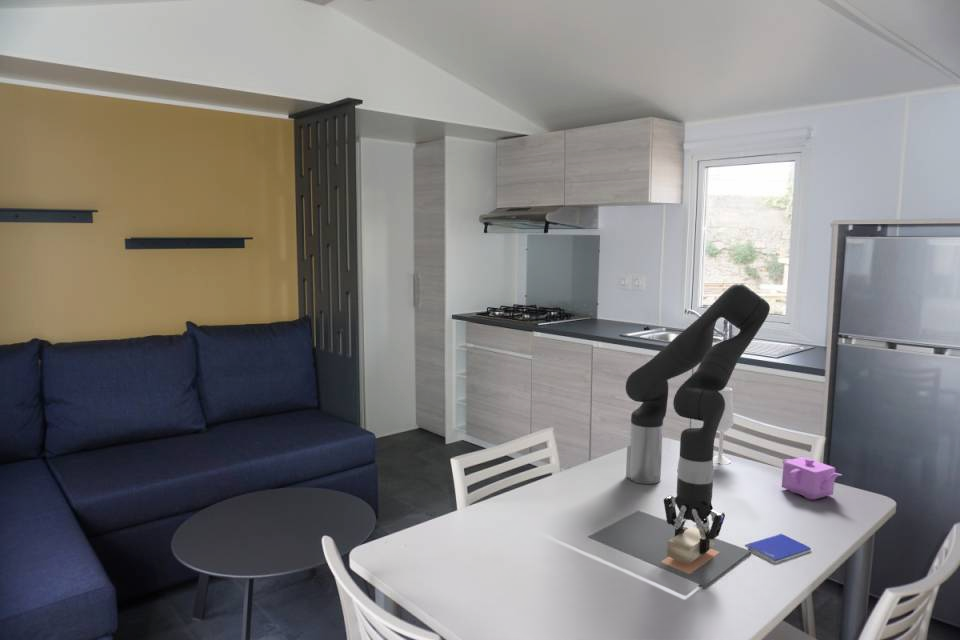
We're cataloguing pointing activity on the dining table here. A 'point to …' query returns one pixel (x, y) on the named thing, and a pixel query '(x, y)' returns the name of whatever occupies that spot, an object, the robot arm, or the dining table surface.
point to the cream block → (686, 545)
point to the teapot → (808, 477)
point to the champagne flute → (725, 423)
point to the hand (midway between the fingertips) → (691, 548)
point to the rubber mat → (651, 543)
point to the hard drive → (778, 548)
